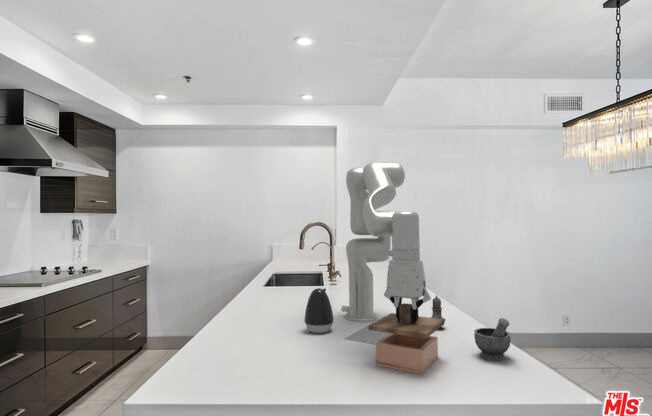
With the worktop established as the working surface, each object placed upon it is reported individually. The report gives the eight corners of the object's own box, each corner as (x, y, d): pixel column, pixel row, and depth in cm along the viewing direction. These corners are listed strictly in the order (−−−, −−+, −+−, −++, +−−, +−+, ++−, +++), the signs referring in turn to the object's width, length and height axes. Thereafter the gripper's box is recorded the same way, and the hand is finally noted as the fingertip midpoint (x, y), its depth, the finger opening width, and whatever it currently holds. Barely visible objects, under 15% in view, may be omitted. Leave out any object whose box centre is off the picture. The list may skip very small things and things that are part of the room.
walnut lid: (368, 329, 108) (368, 307, 108) (391, 317, 121) (391, 297, 121) (426, 338, 99) (426, 314, 99) (444, 323, 113) (443, 302, 113)
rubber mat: (343, 339, 130) (343, 338, 130) (367, 326, 146) (367, 325, 146) (394, 349, 121) (394, 348, 121) (415, 333, 136) (414, 332, 136)
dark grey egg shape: (338, 329, 143) (337, 286, 143) (326, 337, 133) (325, 292, 133) (312, 326, 147) (312, 285, 147) (299, 334, 137) (298, 289, 138)
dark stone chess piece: (446, 332, 138) (446, 297, 138) (429, 331, 139) (428, 296, 139) (445, 327, 143) (444, 294, 144) (428, 326, 144) (427, 293, 145)
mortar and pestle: (467, 352, 117) (466, 311, 117) (494, 349, 119) (494, 309, 119) (493, 366, 106) (492, 321, 106) (522, 362, 108) (521, 318, 108)
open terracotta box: (376, 364, 108) (376, 342, 108) (394, 350, 119) (394, 330, 119) (423, 374, 101) (422, 350, 101) (437, 358, 112) (437, 337, 112)
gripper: (373, 255, 112) (374, 321, 111) (430, 258, 103) (432, 329, 103) (384, 253, 118) (385, 315, 118) (439, 255, 110) (440, 322, 109)
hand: (407, 321), depth 110 cm, fingers closed on walnut lid, 3 cm apart
